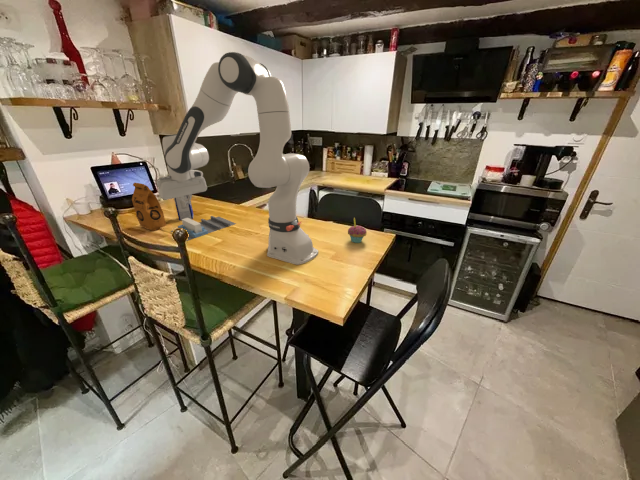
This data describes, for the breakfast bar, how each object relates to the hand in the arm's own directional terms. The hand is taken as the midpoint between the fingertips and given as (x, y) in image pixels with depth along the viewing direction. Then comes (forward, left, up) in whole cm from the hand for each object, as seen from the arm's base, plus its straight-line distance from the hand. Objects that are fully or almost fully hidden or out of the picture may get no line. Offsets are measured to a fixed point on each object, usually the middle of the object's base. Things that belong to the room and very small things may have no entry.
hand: (187, 204), depth 119 cm
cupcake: (-65, -44, -15) cm, 80 cm away
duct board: (0, -6, -14) cm, 16 cm away
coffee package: (+22, +9, -15) cm, 28 cm away
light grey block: (0, 0, -13) cm, 13 cm away
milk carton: (+20, -7, -15) cm, 26 cm away
